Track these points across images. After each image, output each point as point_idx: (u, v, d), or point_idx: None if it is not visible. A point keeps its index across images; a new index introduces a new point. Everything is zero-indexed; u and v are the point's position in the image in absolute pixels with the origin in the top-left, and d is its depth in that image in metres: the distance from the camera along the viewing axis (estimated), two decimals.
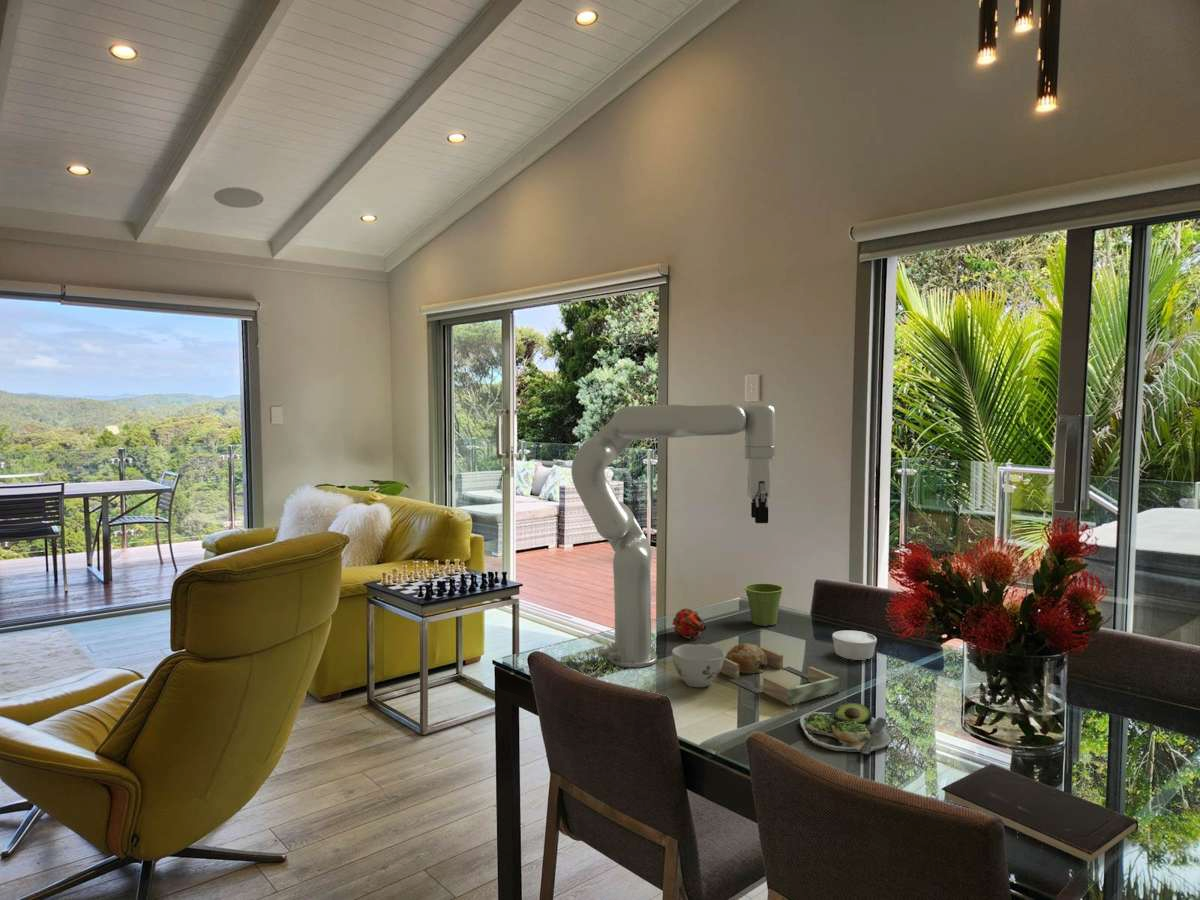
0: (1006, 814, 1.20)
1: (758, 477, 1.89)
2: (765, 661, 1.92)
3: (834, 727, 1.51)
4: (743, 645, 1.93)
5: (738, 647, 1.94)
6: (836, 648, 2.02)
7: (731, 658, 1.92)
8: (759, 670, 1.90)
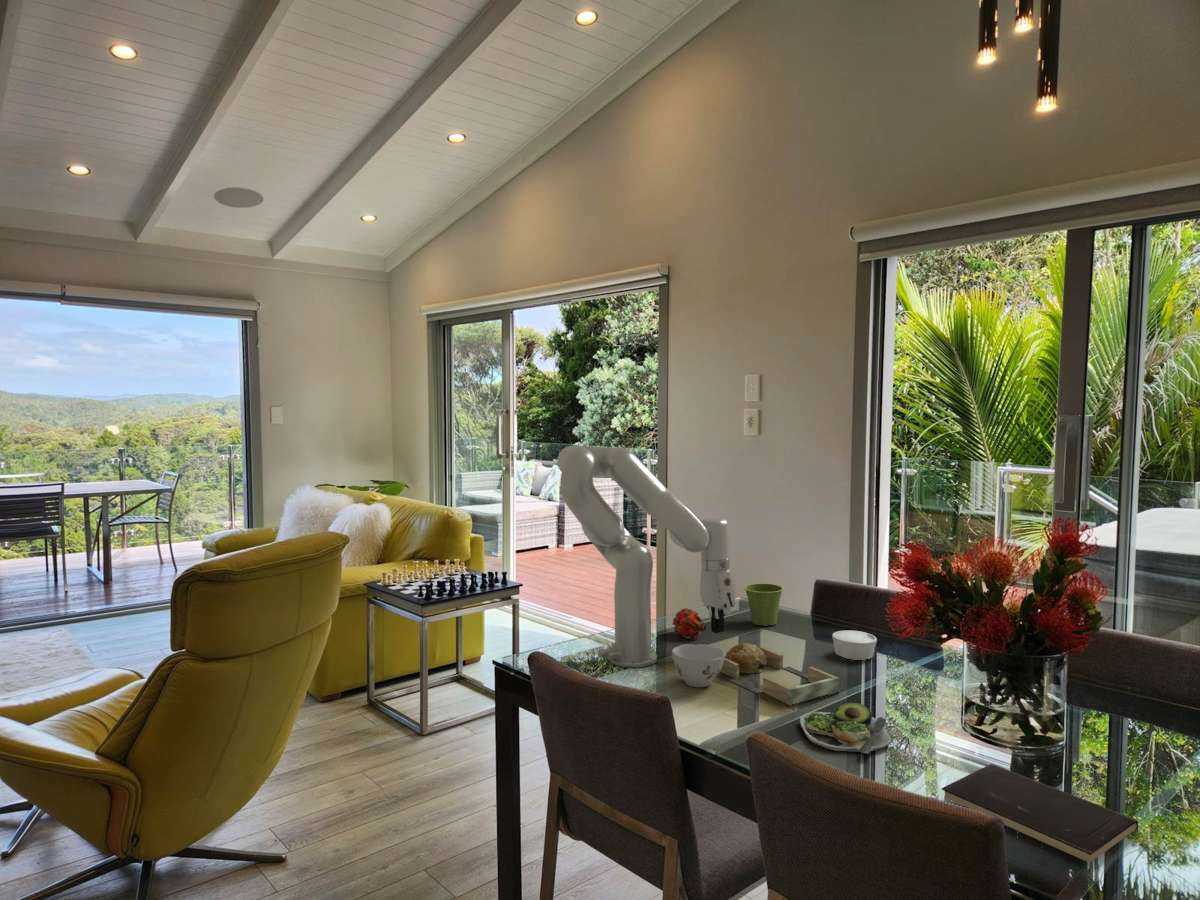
0: (1005, 814, 1.20)
1: None
2: (764, 661, 1.92)
3: (834, 727, 1.51)
4: (742, 645, 1.93)
5: (737, 647, 1.94)
6: (836, 648, 2.02)
7: (730, 658, 1.92)
8: (758, 670, 1.90)
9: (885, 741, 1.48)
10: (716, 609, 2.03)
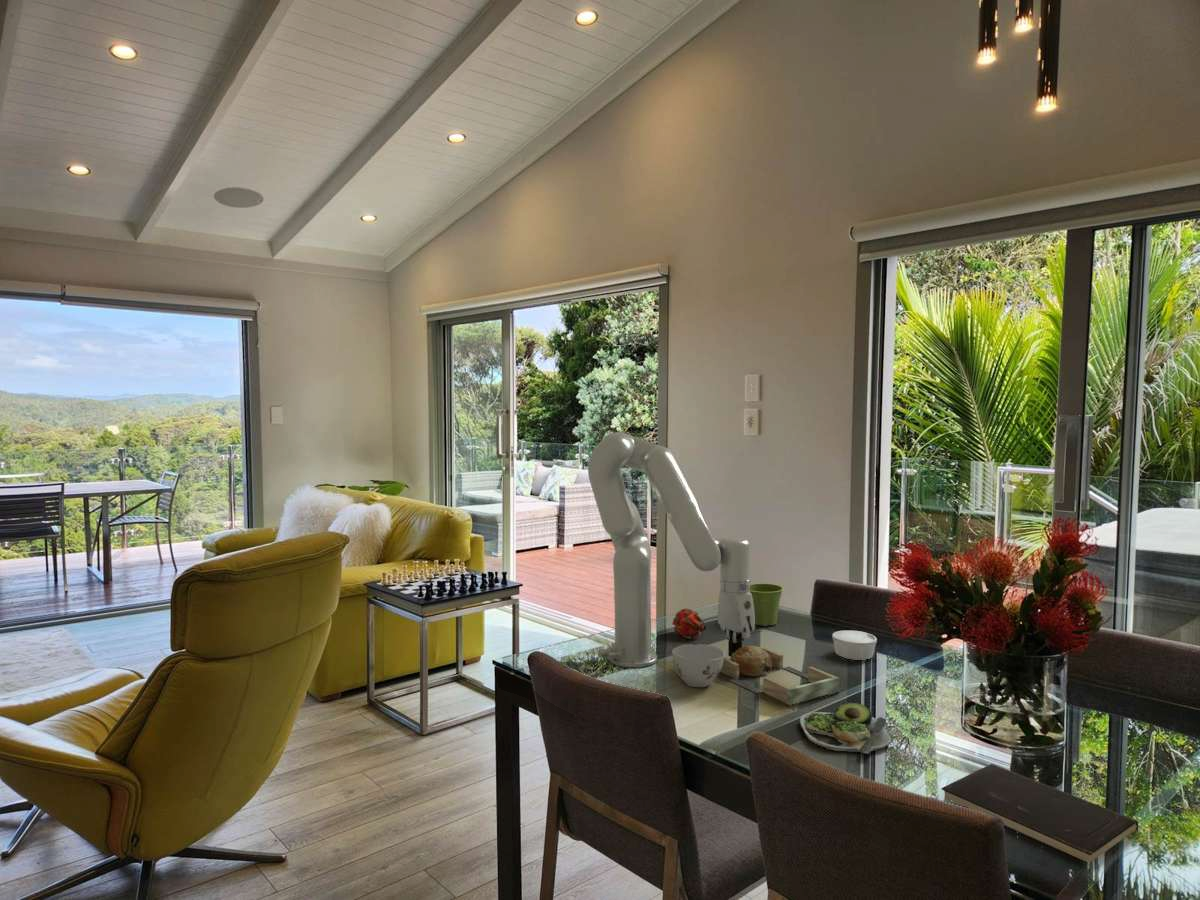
0: (1005, 814, 1.20)
1: None
2: (770, 663, 1.90)
3: (834, 727, 1.51)
4: (747, 647, 1.91)
5: (742, 649, 1.92)
6: (836, 648, 2.02)
7: (735, 661, 1.90)
8: (764, 673, 1.88)
9: (885, 741, 1.48)
10: (734, 633, 1.95)
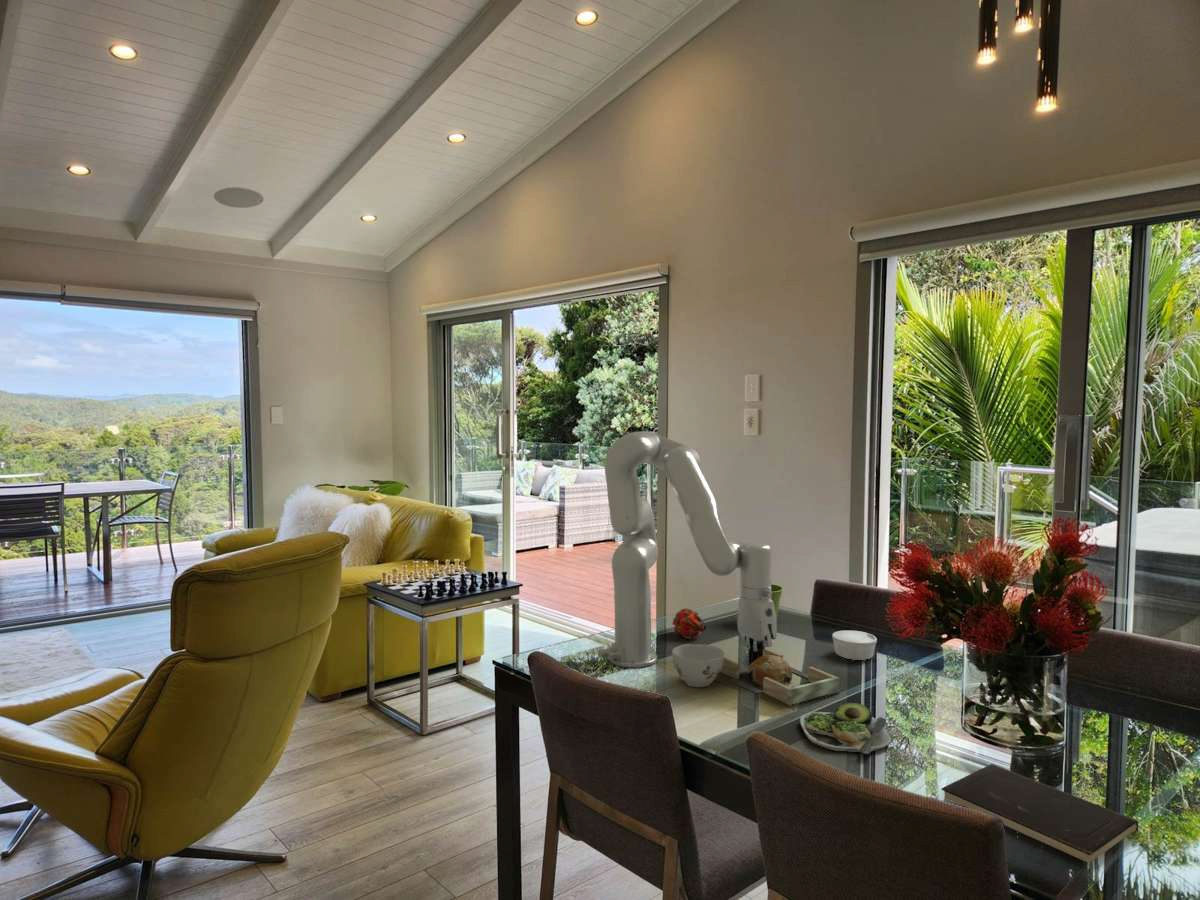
0: (1005, 814, 1.20)
1: None
2: (790, 674, 1.82)
3: (834, 727, 1.51)
4: (767, 657, 1.84)
5: (761, 659, 1.84)
6: (836, 648, 2.02)
7: (754, 671, 1.82)
8: (784, 683, 1.80)
9: (885, 741, 1.48)
10: (755, 641, 1.88)
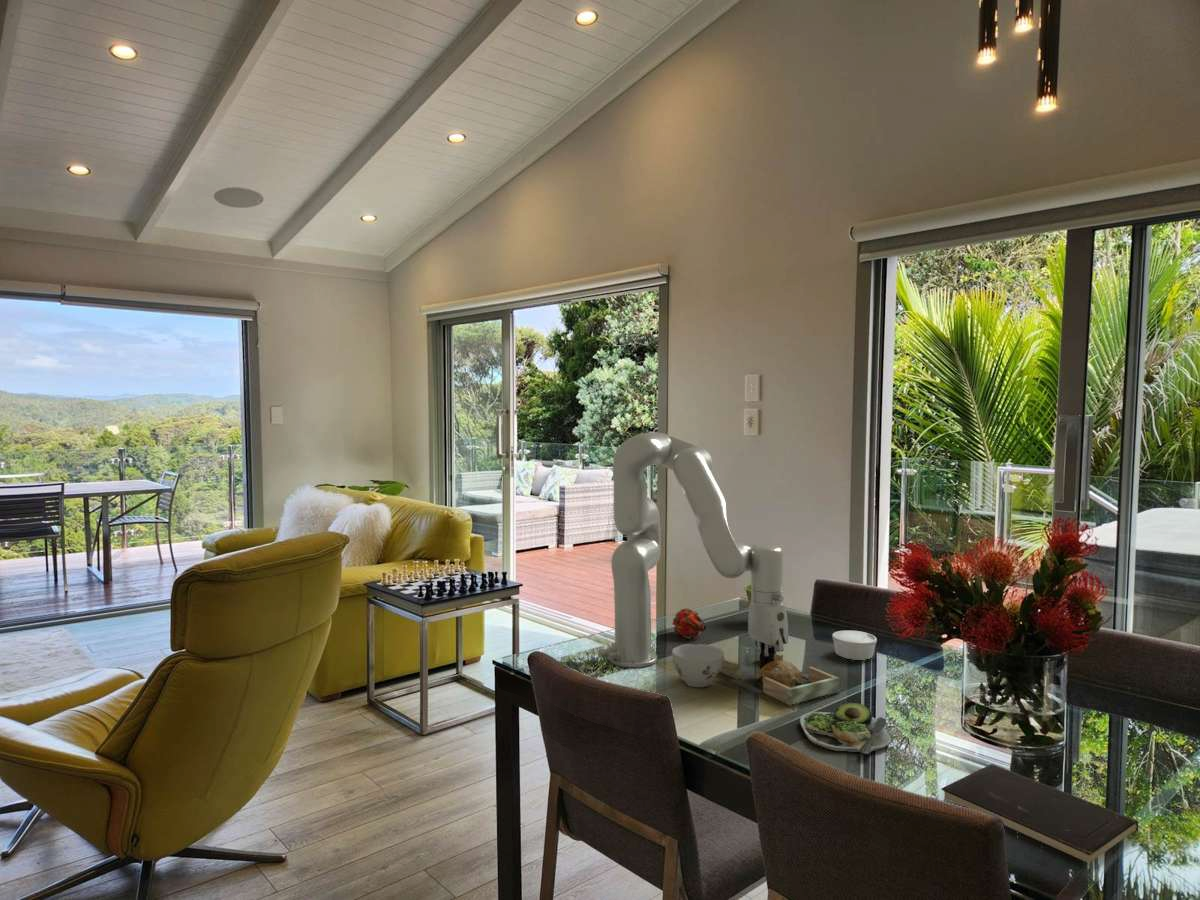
0: (1005, 814, 1.20)
1: None
2: (801, 680, 1.79)
3: (834, 727, 1.51)
4: (777, 662, 1.80)
5: (771, 664, 1.80)
6: (836, 648, 2.02)
7: (764, 676, 1.79)
8: None
9: (885, 741, 1.48)
10: (766, 646, 1.85)
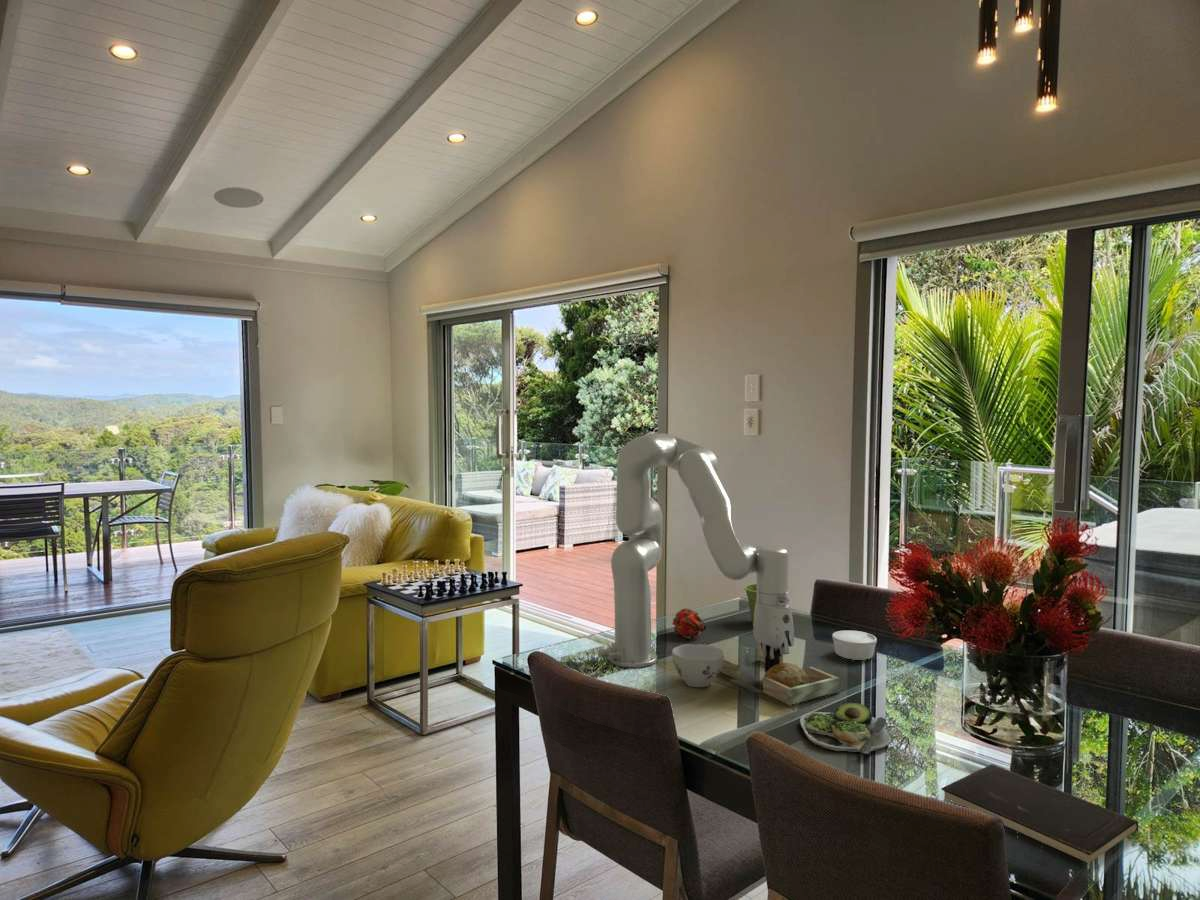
0: (1005, 814, 1.20)
1: None
2: (807, 682, 1.77)
3: (834, 727, 1.51)
4: (783, 665, 1.78)
5: (777, 667, 1.79)
6: (836, 648, 2.02)
7: None
8: None
9: (885, 741, 1.48)
10: (772, 648, 1.83)
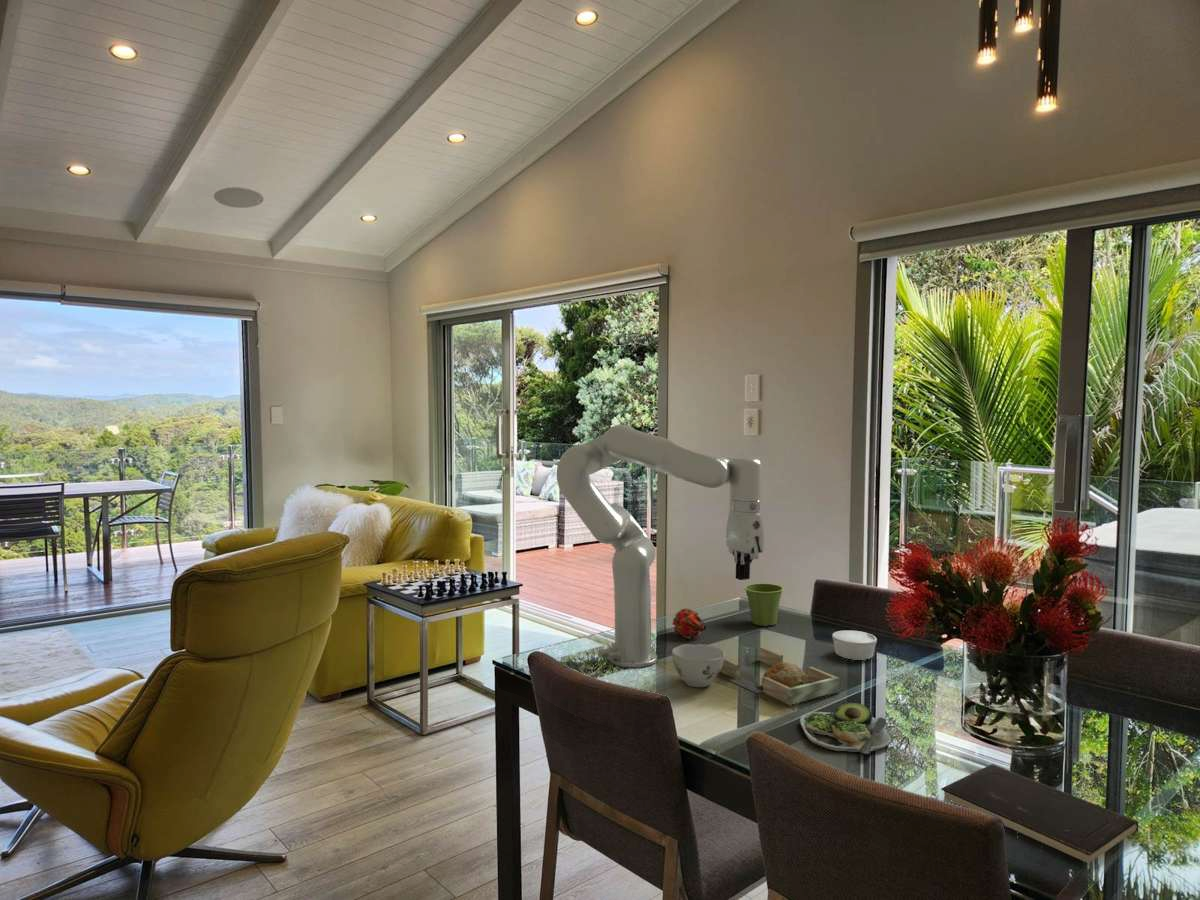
0: (1005, 814, 1.20)
1: None
2: (806, 682, 1.77)
3: (834, 727, 1.51)
4: (782, 665, 1.78)
5: (777, 667, 1.79)
6: (836, 648, 2.02)
7: None
8: None
9: (885, 741, 1.48)
10: (742, 554, 1.90)
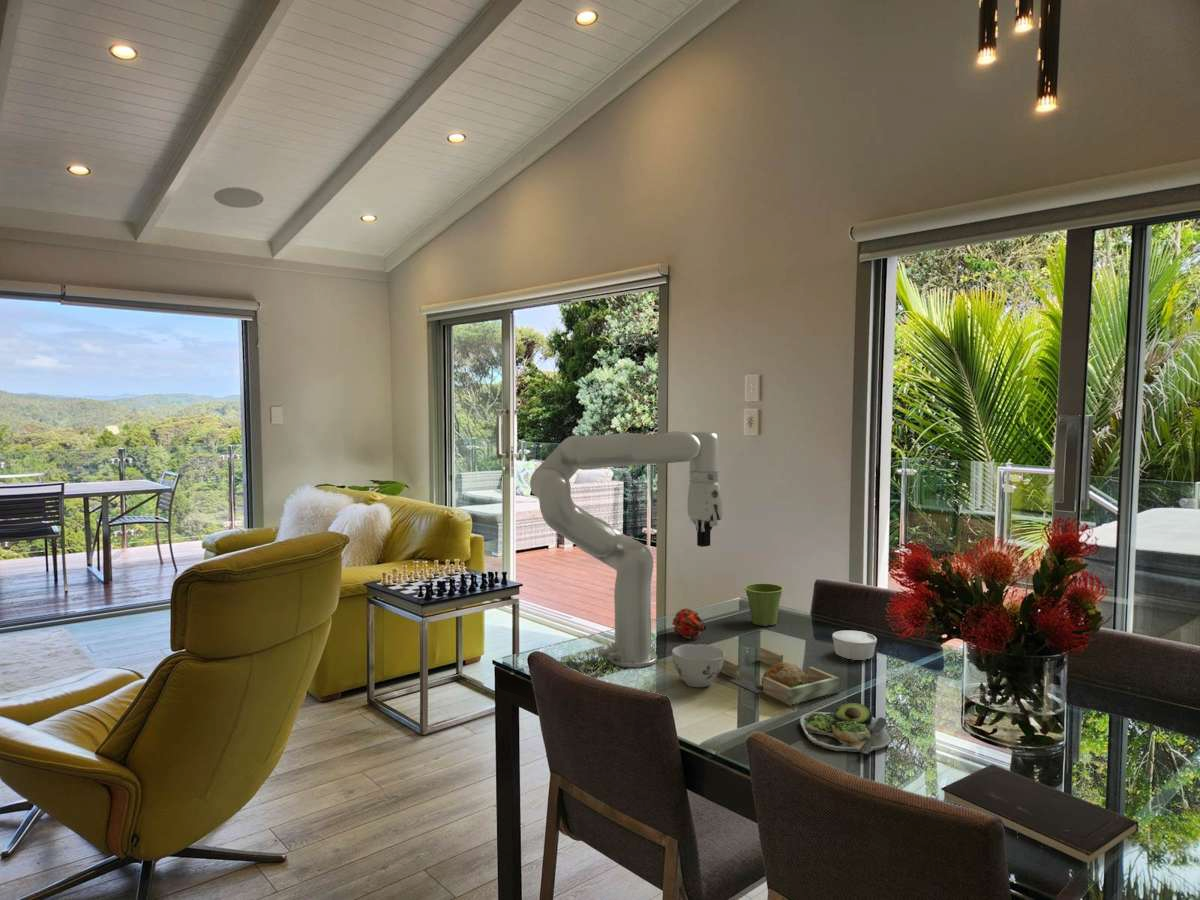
0: (1005, 814, 1.20)
1: None
2: (806, 682, 1.77)
3: (834, 727, 1.51)
4: (782, 665, 1.78)
5: (776, 667, 1.79)
6: (836, 648, 2.02)
7: None
8: None
9: (885, 741, 1.48)
10: (703, 522, 2.02)
